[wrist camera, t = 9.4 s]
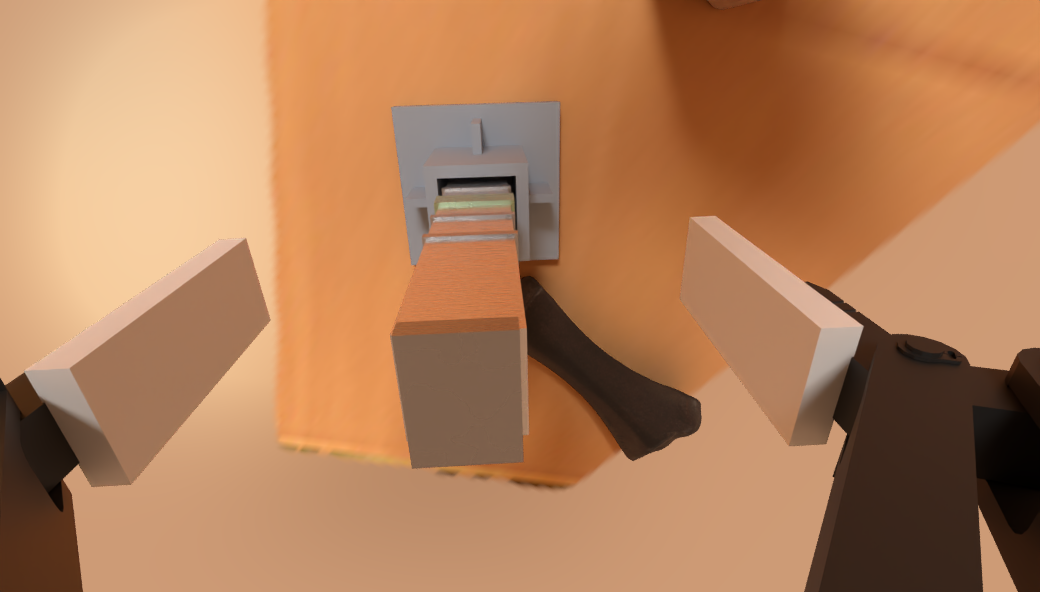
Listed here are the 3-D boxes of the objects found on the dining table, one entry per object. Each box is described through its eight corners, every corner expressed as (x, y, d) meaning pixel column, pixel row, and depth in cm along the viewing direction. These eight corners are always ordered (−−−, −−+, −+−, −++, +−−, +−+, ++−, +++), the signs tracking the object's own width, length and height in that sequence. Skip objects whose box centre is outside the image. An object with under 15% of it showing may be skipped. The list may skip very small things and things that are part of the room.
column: (443, 176, 41) (373, 336, 17) (510, 174, 41) (537, 328, 17) (449, 244, 44) (396, 469, 19) (512, 241, 44) (538, 461, 20)
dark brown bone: (674, 395, 67) (519, 264, 61) (726, 410, 57) (548, 256, 51) (630, 462, 65) (466, 333, 59) (676, 491, 55) (484, 339, 49)
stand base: (394, 106, 48) (366, 117, 37) (558, 101, 48) (576, 110, 38) (413, 260, 54) (395, 306, 44) (556, 254, 55) (572, 297, 45)
